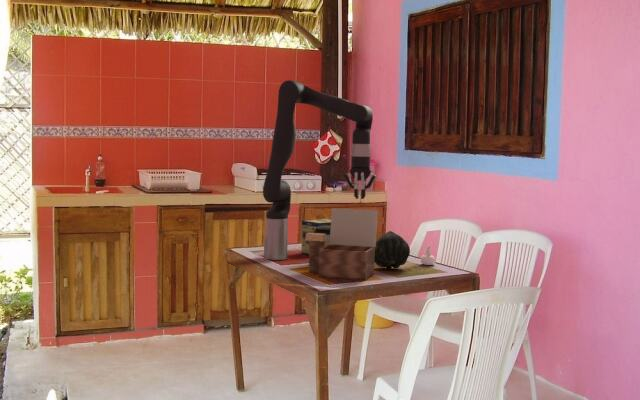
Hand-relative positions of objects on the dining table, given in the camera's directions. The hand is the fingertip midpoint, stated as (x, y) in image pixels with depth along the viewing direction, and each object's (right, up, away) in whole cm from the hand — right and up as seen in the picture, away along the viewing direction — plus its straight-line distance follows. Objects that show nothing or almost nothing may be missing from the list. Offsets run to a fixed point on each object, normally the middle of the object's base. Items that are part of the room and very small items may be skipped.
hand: (359, 198), depth 282 cm
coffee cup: (-14, -27, +9) cm, 32 cm away
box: (-9, -29, -14) cm, 33 cm away
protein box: (-15, -26, +33) cm, 44 cm away
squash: (+12, -29, 0) cm, 31 cm away
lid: (-3, -11, -9) cm, 14 cm away
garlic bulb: (+30, -28, +15) cm, 43 cm away
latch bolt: (-18, -16, -9) cm, 26 cm away
